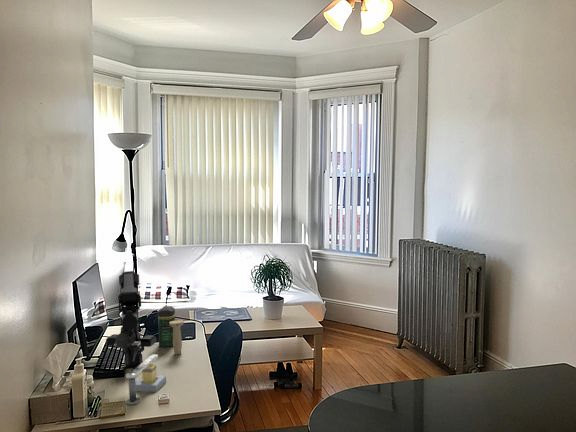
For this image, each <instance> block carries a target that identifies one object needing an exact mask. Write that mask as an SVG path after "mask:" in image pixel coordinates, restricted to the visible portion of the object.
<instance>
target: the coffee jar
mask: <svg viewBox="0 0 576 432" xmlns="http://www.w3.org/2000/svg"><path fill="white" fill-rule="evenodd" d="M157 319H158V320H157V321H158V322H157V325H158V346H159V347H163V348H168V347H173V327H171V326H170V325H169V322H171V321H176V309H175V307H173V305H167V306H166V305H165V306H163V307H161V308H159V310H158V311H157Z"/></svg>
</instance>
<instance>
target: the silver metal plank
mask: <svg viewBox="0 0 576 432" xmlns="http://www.w3.org/2000/svg"><path fill="white" fill-rule="evenodd" d="M158 358H159V354H151V355H149V357H147V358H146V359H145V360H144V361H143V363H141V364H140V365H139V366H138V367H136V368H133V370H131V371H130V372H127V373H126V374H125V378H126V379H127V380H128V379H133V378H135V379H136V378H138V376H139V374H140V373H142V370H144V369H145V368H146V367H147V366H148V365H149V364H152V363H153V362H154V361H155V360H157V359H158Z"/></svg>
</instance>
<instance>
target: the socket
mask: <svg viewBox="0 0 576 432" xmlns="http://www.w3.org/2000/svg"><path fill="white" fill-rule="evenodd" d="M135 381H136V380H135ZM165 383H167V375H157V380H156V381H155V382H154V383H143V380H142V376H141V377H139V379H137V381H136V392H137V391H138V392H151V393H152V392H153V393H154V392H155V393H156V392H157V391H159V390H160V389H161V388H162V387H163V386H164V385H165Z"/></svg>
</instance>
